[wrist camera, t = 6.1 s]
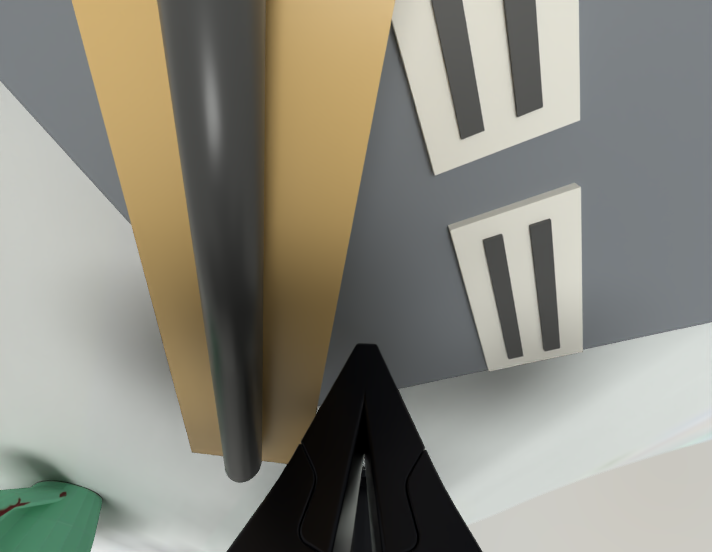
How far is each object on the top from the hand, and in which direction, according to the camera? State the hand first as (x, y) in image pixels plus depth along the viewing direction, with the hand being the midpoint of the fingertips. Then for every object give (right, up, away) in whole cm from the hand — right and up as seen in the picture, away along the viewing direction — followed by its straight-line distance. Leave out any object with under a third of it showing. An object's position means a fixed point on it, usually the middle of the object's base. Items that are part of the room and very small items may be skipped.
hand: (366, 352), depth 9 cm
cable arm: (-2, +5, -3) cm, 6 cm away
